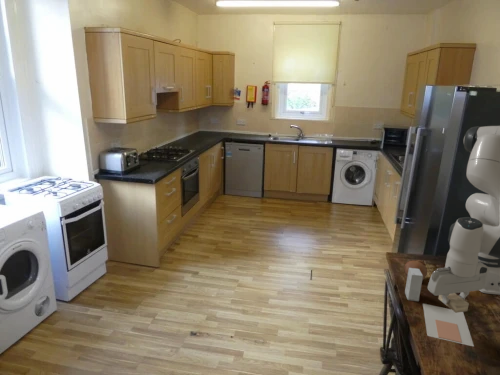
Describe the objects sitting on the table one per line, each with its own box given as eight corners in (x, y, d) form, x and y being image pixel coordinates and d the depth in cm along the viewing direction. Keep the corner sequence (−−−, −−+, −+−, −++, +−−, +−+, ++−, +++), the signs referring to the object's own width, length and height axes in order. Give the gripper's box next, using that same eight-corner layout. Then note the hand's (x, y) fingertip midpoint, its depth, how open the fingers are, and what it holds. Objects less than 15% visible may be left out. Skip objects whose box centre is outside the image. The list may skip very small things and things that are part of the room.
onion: (417, 282, 162) (427, 262, 161) (423, 288, 152) (434, 267, 151) (397, 272, 163) (407, 253, 162) (402, 277, 154) (413, 257, 153)
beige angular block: (467, 311, 118) (468, 303, 117) (455, 312, 117) (457, 304, 116) (449, 297, 126) (450, 290, 125) (438, 298, 125) (439, 291, 124)
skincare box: (418, 302, 141) (423, 276, 138) (407, 301, 142) (411, 274, 139) (415, 294, 147) (419, 268, 144) (404, 292, 148) (408, 267, 144)
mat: (462, 313, 135) (463, 311, 135) (473, 348, 117) (474, 346, 117) (422, 304, 140) (422, 303, 140) (427, 337, 122) (427, 335, 122)
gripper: (440, 273, 112) (433, 311, 116) (493, 267, 116) (485, 304, 120) (427, 264, 118) (420, 300, 122) (478, 258, 122) (470, 293, 126)
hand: (453, 302), depth 121 cm, fingers closed on beige angular block, 4 cm apart
